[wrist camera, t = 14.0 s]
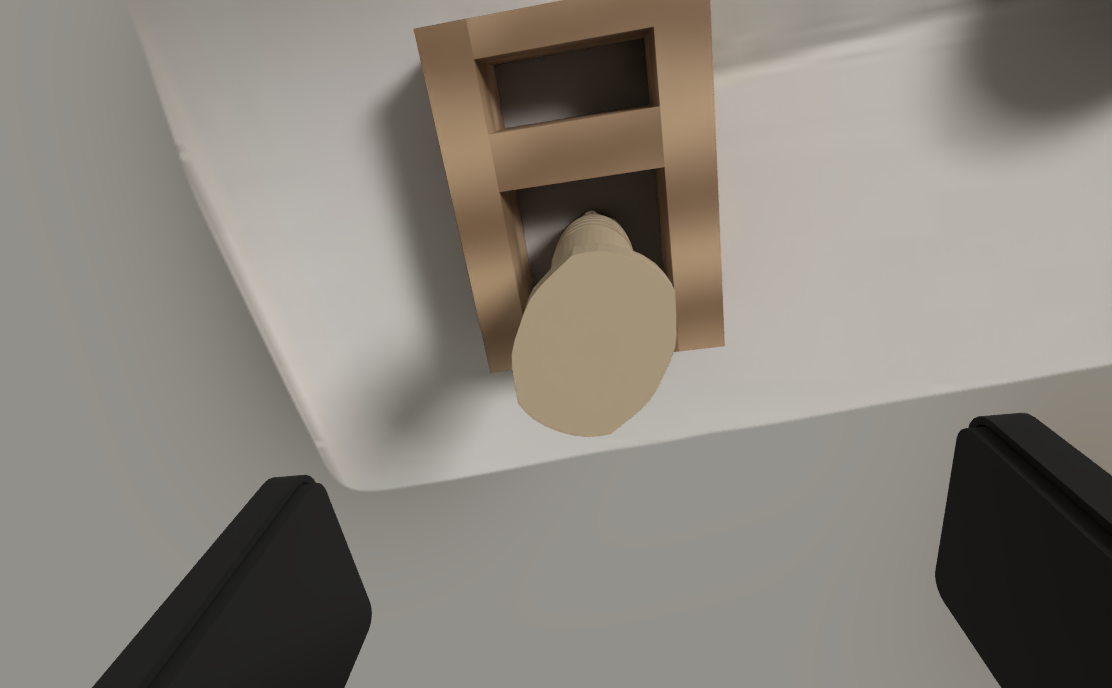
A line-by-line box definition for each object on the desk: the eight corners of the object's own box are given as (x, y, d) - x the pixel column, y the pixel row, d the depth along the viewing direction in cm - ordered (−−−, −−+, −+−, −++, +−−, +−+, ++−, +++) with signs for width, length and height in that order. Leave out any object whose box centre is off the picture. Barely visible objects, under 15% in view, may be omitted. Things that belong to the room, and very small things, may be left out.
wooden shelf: (443, 39, 28) (413, 28, 23) (689, -7, 27) (709, -28, 22) (504, 335, 34) (490, 372, 30) (706, 311, 33) (724, 346, 28)
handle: (534, 276, 33) (491, 409, 19) (572, 166, 30) (552, 229, 16) (613, 303, 33) (626, 453, 19) (656, 197, 30) (707, 284, 17)
